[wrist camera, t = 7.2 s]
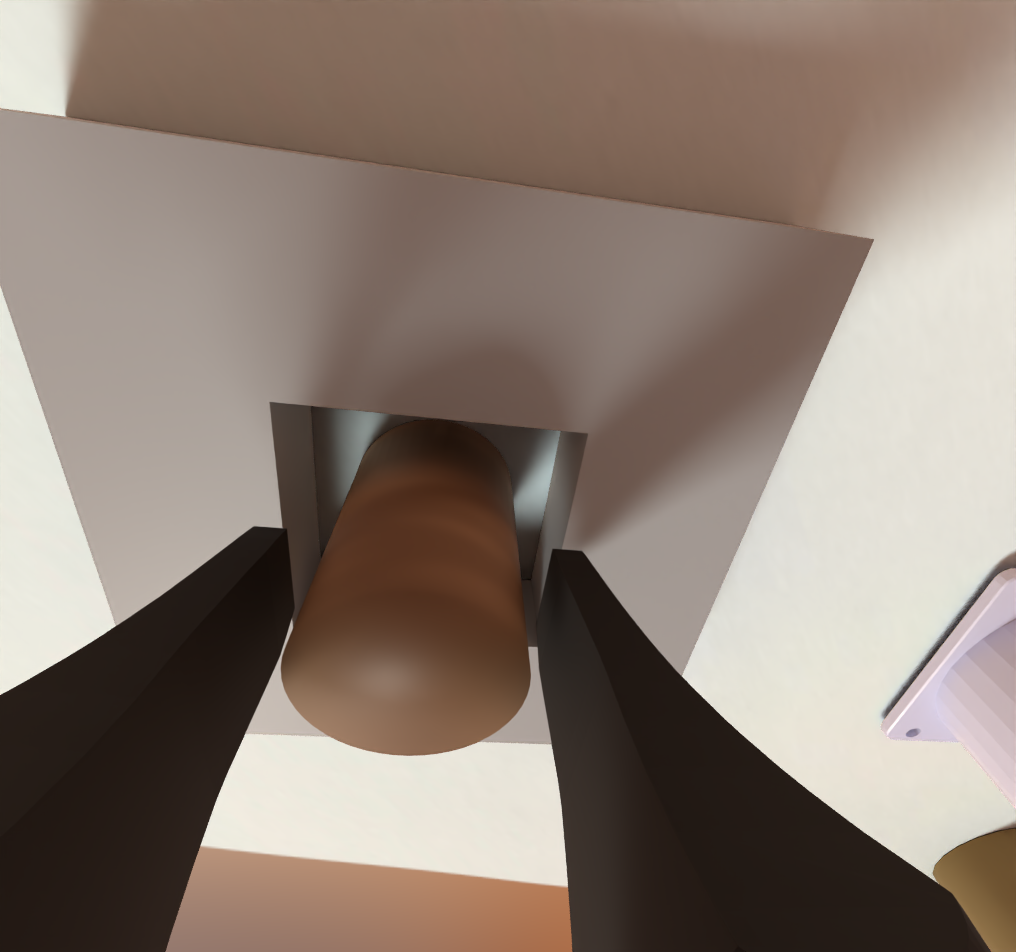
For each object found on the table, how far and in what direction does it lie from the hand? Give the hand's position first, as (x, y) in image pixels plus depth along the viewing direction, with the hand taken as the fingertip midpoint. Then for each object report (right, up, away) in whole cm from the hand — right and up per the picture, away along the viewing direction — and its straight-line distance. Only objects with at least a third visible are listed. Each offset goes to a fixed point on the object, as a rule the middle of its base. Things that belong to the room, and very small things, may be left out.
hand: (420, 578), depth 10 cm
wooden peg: (0, +2, +3) cm, 4 cm away
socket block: (0, +2, +3) cm, 4 cm away
